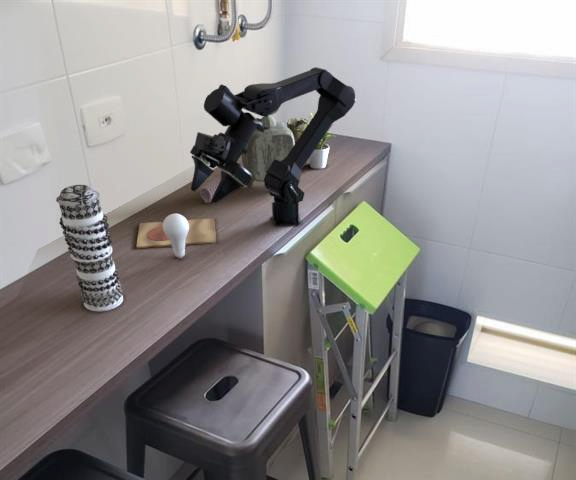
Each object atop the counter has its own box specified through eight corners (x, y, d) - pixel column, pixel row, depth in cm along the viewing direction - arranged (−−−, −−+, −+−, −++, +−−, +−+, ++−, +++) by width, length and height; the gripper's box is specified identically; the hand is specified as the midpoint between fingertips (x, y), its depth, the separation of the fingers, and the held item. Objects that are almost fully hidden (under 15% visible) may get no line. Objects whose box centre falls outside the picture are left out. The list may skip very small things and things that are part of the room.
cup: (285, 147, 206) (284, 123, 201) (288, 140, 211) (288, 117, 206) (306, 148, 205) (306, 124, 200) (309, 141, 210) (309, 118, 205)
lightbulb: (197, 253, 146) (191, 211, 138) (185, 264, 141) (180, 221, 134) (175, 250, 147) (168, 207, 140) (163, 261, 143) (156, 218, 136)
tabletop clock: (288, 180, 182) (287, 93, 166) (297, 191, 175) (297, 101, 159) (242, 186, 179) (237, 97, 163) (250, 197, 172) (246, 106, 156)
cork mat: (214, 219, 161) (213, 217, 160) (216, 242, 150) (215, 240, 150) (139, 224, 159) (139, 222, 158) (136, 248, 148) (136, 246, 148)
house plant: (313, 154, 200) (313, 102, 190) (348, 162, 194) (350, 109, 183) (288, 166, 191) (288, 113, 181) (324, 175, 185) (325, 120, 174)
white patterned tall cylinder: (110, 315, 124) (82, 201, 108) (73, 308, 127) (41, 195, 111) (133, 294, 131) (110, 183, 115) (98, 287, 133) (70, 178, 117)
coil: (210, 190, 165) (247, 170, 177) (197, 185, 167) (234, 165, 179) (210, 205, 168) (246, 185, 180) (197, 200, 170) (234, 180, 182)
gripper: (191, 108, 137) (158, 167, 139) (236, 127, 125) (199, 191, 128) (223, 135, 146) (191, 191, 148) (268, 155, 134) (232, 215, 136)
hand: (202, 196), depth 140 cm, fingers open, 9 cm apart
